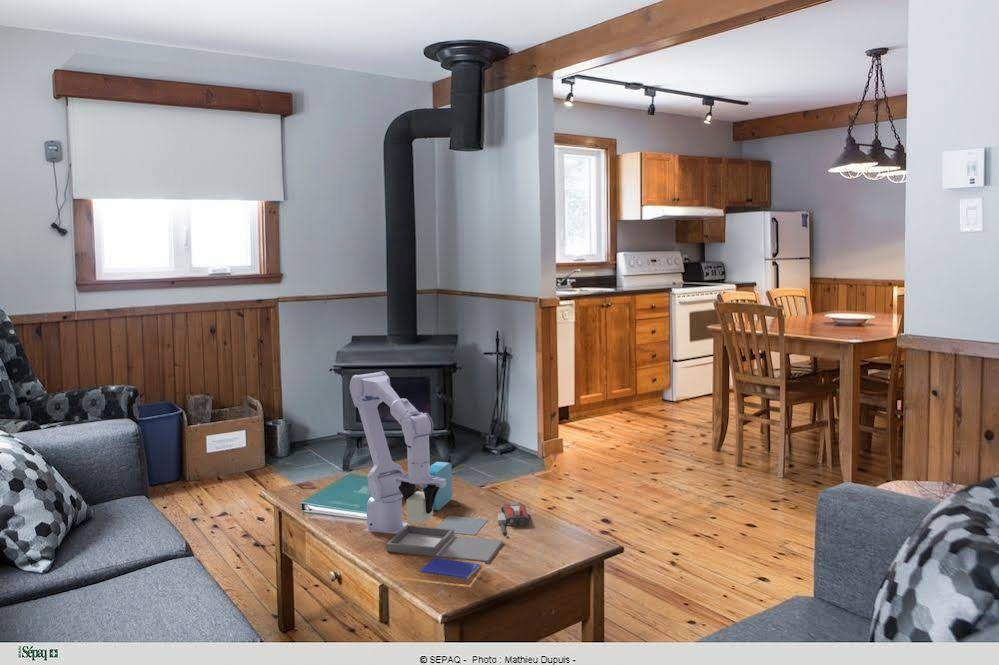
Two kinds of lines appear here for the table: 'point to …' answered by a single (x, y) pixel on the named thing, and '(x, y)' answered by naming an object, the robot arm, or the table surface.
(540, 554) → the table surface
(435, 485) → the robot arm
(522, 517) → the walkie-talkie
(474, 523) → the slate mat
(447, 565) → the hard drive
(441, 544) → the equipment case
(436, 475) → the blue block
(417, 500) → the block
